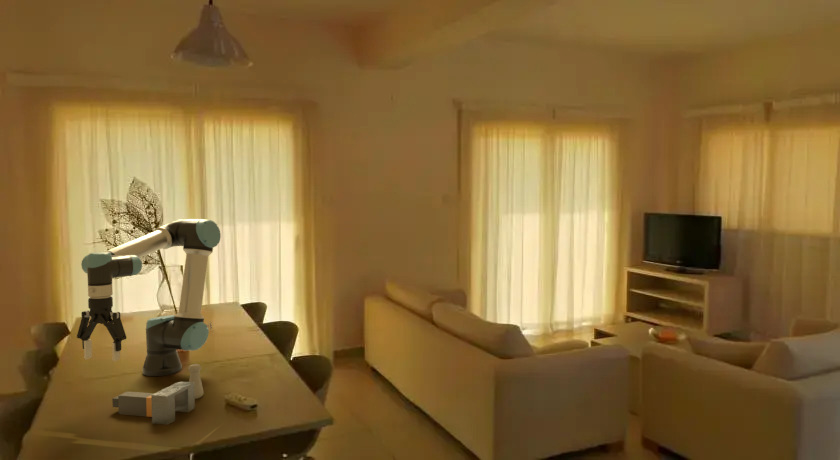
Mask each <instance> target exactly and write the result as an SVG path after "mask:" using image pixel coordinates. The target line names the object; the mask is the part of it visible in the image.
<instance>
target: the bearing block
mask: <svg viewBox="0 0 840 460" xmlns="http://www.w3.org/2000/svg"><path fill="white" fill-rule="evenodd" d="M151 399H152V417H151V424H157V425H166V426H167V425H168V426H169V425H170V424H172V423H173V422H175V421H176V412H179V411H180V413H181V412H182V413H189V412H191V411H193V410H194V409H195V408H196V407H195V406H196V402H195V401H196V399H195V393H194V383H193V382H189V381H177V382H175V383H172V384H171V385H170V386H167V387H164V388H162V389H161V390H158V391H157V392H155V393H154V394H152V395H151Z"/></svg>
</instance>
